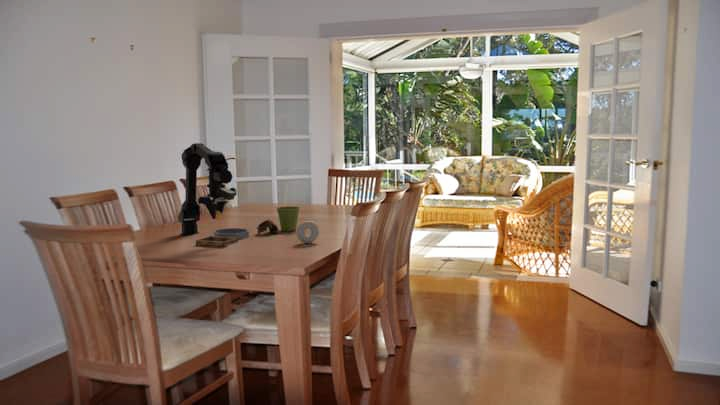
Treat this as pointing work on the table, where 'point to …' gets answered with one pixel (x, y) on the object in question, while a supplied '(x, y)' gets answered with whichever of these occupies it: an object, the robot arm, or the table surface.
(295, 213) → the plant pot
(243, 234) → the bowl
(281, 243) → the table surface
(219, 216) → the ball
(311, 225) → the donut
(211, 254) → the table surface
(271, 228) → the broken clay ring
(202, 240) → the tray
